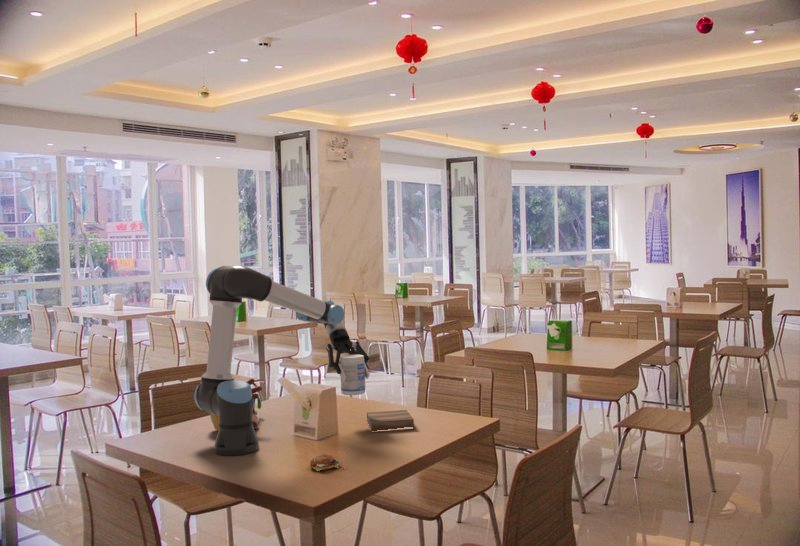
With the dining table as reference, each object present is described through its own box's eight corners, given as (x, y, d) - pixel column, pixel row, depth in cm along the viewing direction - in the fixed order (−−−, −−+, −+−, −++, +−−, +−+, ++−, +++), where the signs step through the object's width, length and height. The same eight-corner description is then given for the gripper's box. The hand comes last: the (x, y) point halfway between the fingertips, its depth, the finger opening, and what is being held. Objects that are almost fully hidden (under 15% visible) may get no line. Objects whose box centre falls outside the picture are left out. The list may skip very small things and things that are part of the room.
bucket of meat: (207, 414, 278) (254, 398, 287) (220, 447, 269) (269, 429, 277) (203, 384, 264) (253, 368, 273) (217, 418, 255) (268, 400, 263)
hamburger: (315, 478, 209) (314, 459, 209) (301, 466, 222) (300, 448, 222) (358, 471, 216) (357, 452, 215) (342, 459, 228) (341, 441, 228)
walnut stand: (413, 429, 262) (413, 419, 262) (372, 432, 260) (371, 421, 260) (406, 419, 278) (406, 409, 278) (367, 422, 276) (366, 412, 276)
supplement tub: (364, 395, 265) (362, 357, 265) (339, 396, 266) (338, 358, 265) (366, 390, 275) (365, 353, 275) (342, 391, 276) (341, 354, 275)
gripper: (359, 337, 289) (378, 380, 276) (310, 342, 278) (327, 387, 264) (364, 325, 284) (384, 369, 271) (314, 330, 273) (333, 375, 260)
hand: (356, 378), depth 268 cm, fingers closed on supplement tub, 9 cm apart
